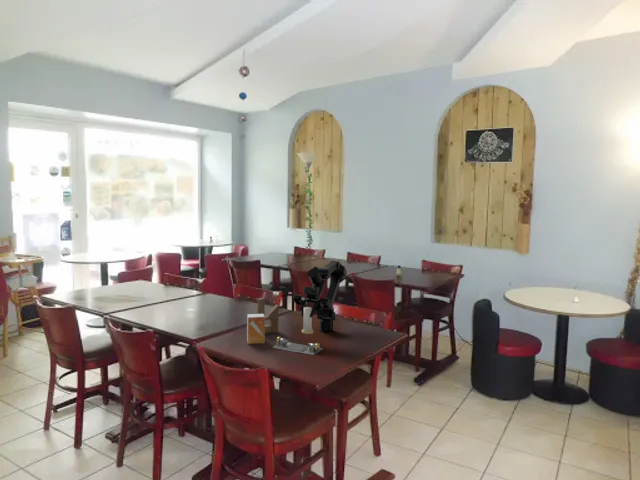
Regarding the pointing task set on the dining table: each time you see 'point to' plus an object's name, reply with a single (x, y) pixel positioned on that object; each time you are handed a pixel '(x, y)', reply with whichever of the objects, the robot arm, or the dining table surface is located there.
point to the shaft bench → (297, 347)
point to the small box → (255, 328)
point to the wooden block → (269, 316)
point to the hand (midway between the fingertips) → (306, 316)
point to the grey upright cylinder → (307, 321)
